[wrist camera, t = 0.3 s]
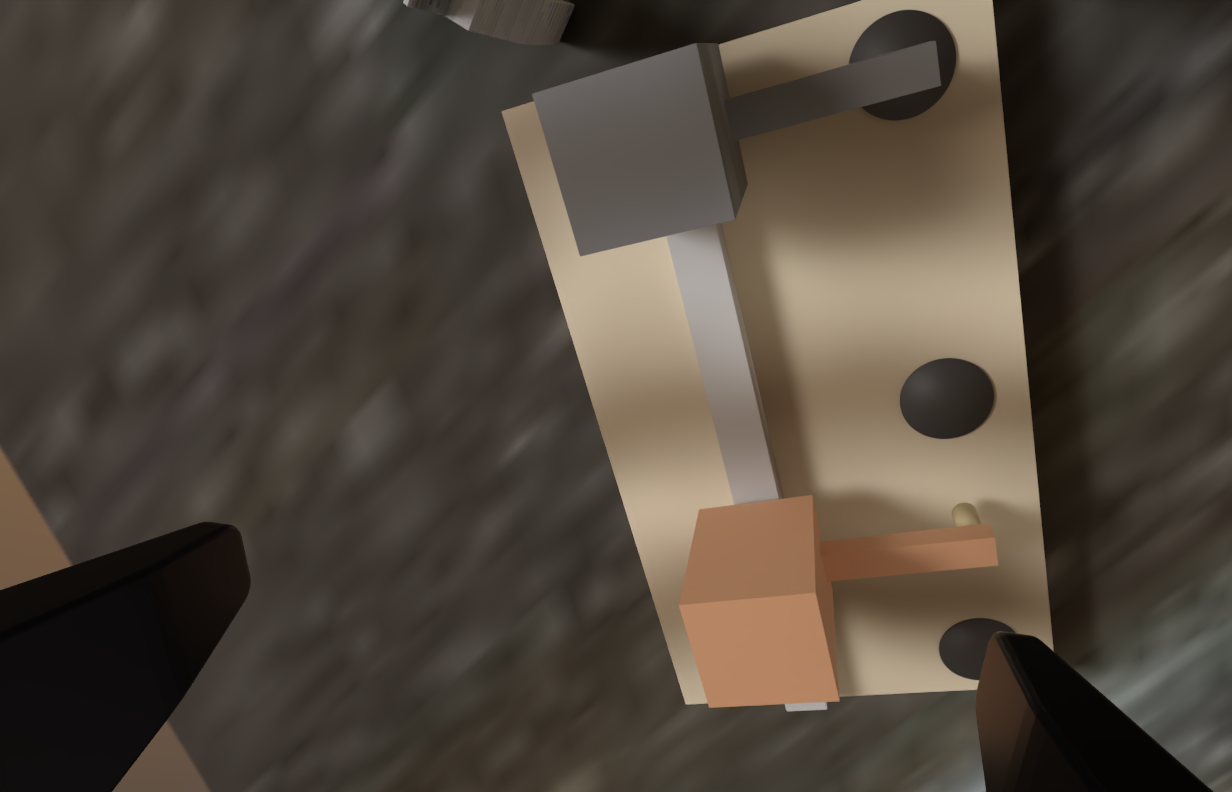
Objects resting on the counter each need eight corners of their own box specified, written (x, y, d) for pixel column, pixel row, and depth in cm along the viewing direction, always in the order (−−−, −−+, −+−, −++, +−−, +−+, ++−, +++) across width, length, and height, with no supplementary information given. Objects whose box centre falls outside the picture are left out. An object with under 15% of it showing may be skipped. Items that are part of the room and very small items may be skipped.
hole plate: (1042, 648, 24) (1121, 845, 18) (691, 671, 27) (662, 843, 21) (973, -32, 17) (1064, -72, 11) (520, 107, 20) (410, 131, 14)
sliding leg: (986, 558, 20) (1035, 691, 16) (725, 584, 23) (709, 707, 18) (974, 459, 19) (1022, 573, 15) (701, 496, 21) (678, 605, 17)
